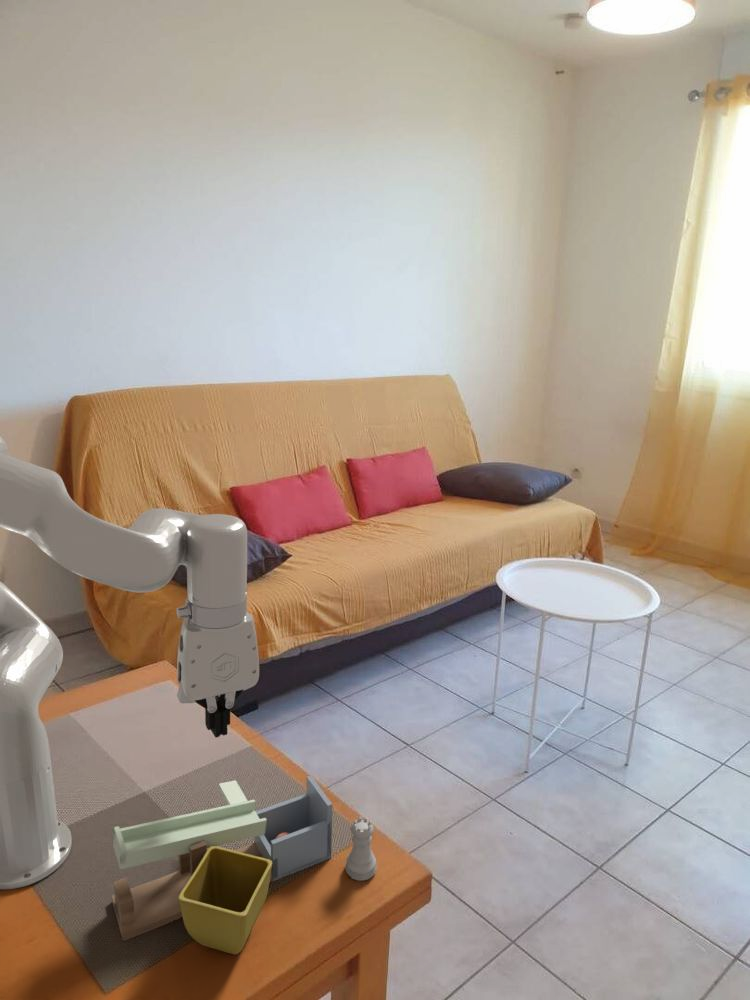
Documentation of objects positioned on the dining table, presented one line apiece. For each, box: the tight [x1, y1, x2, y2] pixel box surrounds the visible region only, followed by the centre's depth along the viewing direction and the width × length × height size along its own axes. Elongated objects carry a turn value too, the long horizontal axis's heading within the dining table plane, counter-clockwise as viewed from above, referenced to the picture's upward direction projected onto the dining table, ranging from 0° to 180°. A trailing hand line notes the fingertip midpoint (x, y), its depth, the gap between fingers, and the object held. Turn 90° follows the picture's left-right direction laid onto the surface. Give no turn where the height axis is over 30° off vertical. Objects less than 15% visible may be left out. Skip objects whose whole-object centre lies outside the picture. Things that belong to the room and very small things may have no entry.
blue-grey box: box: [253, 775, 333, 882], centre depth 103 cm, size 7×9×9 cm
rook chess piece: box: [345, 816, 378, 882], centre depth 100 cm, size 4×4×8 cm
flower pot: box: [178, 846, 272, 955], centre depth 89 cm, size 9×9×9 cm
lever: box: [112, 780, 267, 871], centre depth 97 cm, size 11×19×3 cm, turn 120°
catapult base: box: [111, 811, 274, 942], centre depth 96 cm, size 7×20×10 cm, turn 120°
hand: (217, 730), depth 99 cm, fingers closed
